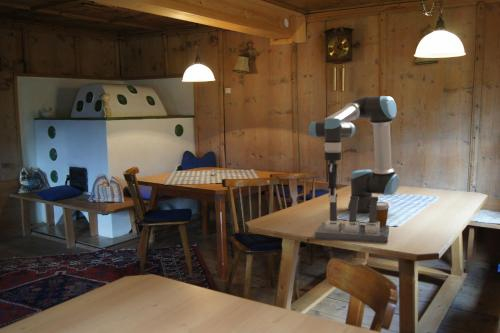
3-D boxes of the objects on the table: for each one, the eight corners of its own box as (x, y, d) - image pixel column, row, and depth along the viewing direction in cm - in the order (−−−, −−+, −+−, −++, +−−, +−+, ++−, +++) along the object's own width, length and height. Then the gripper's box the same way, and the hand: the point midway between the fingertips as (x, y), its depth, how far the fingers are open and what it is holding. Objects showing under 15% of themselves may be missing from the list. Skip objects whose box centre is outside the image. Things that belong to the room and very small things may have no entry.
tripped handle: (329, 220, 227) (329, 193, 225) (337, 220, 226) (337, 193, 223) (329, 221, 225) (328, 194, 222) (337, 221, 224) (336, 194, 221)
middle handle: (348, 222, 223) (350, 198, 230) (356, 223, 222) (358, 198, 229) (348, 220, 221) (350, 195, 228) (356, 221, 220) (358, 196, 227)
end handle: (368, 223, 220) (369, 198, 227) (376, 224, 219) (378, 199, 226) (368, 221, 219) (369, 196, 225) (376, 222, 217) (377, 196, 224)
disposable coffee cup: (390, 230, 230) (390, 205, 228) (369, 229, 232) (369, 205, 230) (388, 225, 239) (388, 201, 238) (368, 224, 241) (369, 201, 240)
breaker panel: (322, 228, 237) (322, 216, 236) (389, 232, 226) (389, 219, 226) (315, 238, 220) (315, 225, 219) (387, 243, 210) (387, 229, 209)
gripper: (326, 150, 226) (326, 199, 229) (322, 152, 214) (322, 204, 217) (342, 150, 224) (342, 200, 227) (339, 152, 212) (338, 204, 214)
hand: (332, 201), depth 222 cm, fingers closed
